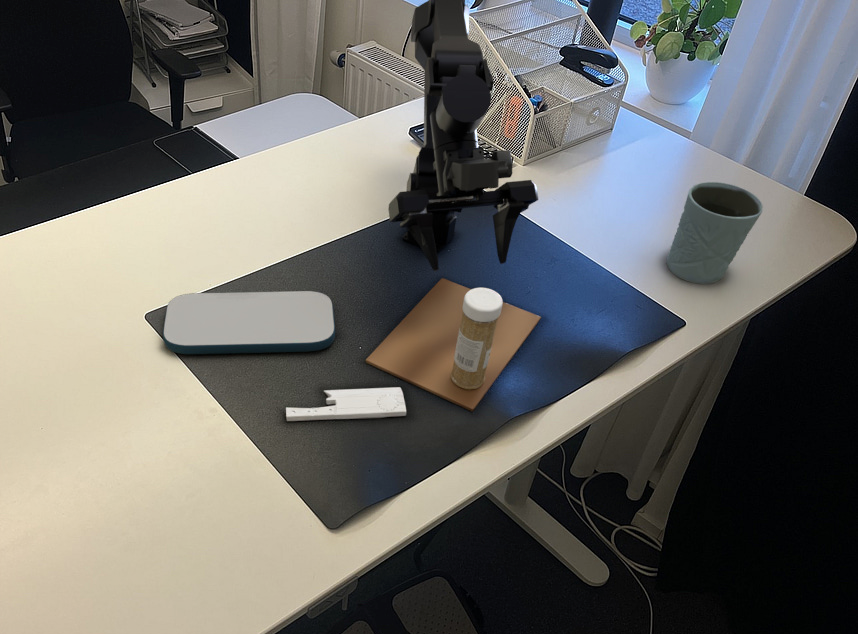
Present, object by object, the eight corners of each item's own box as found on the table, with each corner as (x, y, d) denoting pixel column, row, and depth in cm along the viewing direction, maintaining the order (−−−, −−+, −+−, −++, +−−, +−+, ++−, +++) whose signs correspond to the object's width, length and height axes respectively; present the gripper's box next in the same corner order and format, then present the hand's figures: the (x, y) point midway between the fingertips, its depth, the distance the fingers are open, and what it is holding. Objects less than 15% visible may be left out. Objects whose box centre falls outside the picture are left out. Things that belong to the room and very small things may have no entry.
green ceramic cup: (650, 267, 118) (677, 199, 109) (679, 240, 123) (707, 173, 114) (713, 295, 113) (746, 226, 104) (740, 266, 118) (774, 198, 109)
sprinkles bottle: (491, 382, 99) (511, 301, 89) (464, 395, 97) (482, 314, 87) (468, 362, 101) (485, 281, 92) (442, 374, 100) (456, 293, 90)
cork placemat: (365, 362, 102) (365, 359, 101) (441, 280, 114) (442, 277, 114) (472, 411, 96) (473, 409, 95) (540, 319, 108) (541, 316, 108)
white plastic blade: (285, 392, 97) (285, 386, 97) (400, 388, 98) (401, 382, 98) (286, 421, 94) (286, 415, 93) (406, 417, 95) (406, 411, 94)
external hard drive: (161, 358, 102) (159, 347, 100) (169, 303, 110) (167, 292, 108) (336, 354, 103) (337, 343, 101) (331, 300, 111) (332, 289, 109)
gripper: (401, 133, 90) (417, 264, 90) (549, 121, 92) (564, 249, 93) (381, 160, 101) (395, 277, 101) (514, 149, 103) (527, 263, 104)
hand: (469, 266), depth 99 cm, fingers open, 9 cm apart
